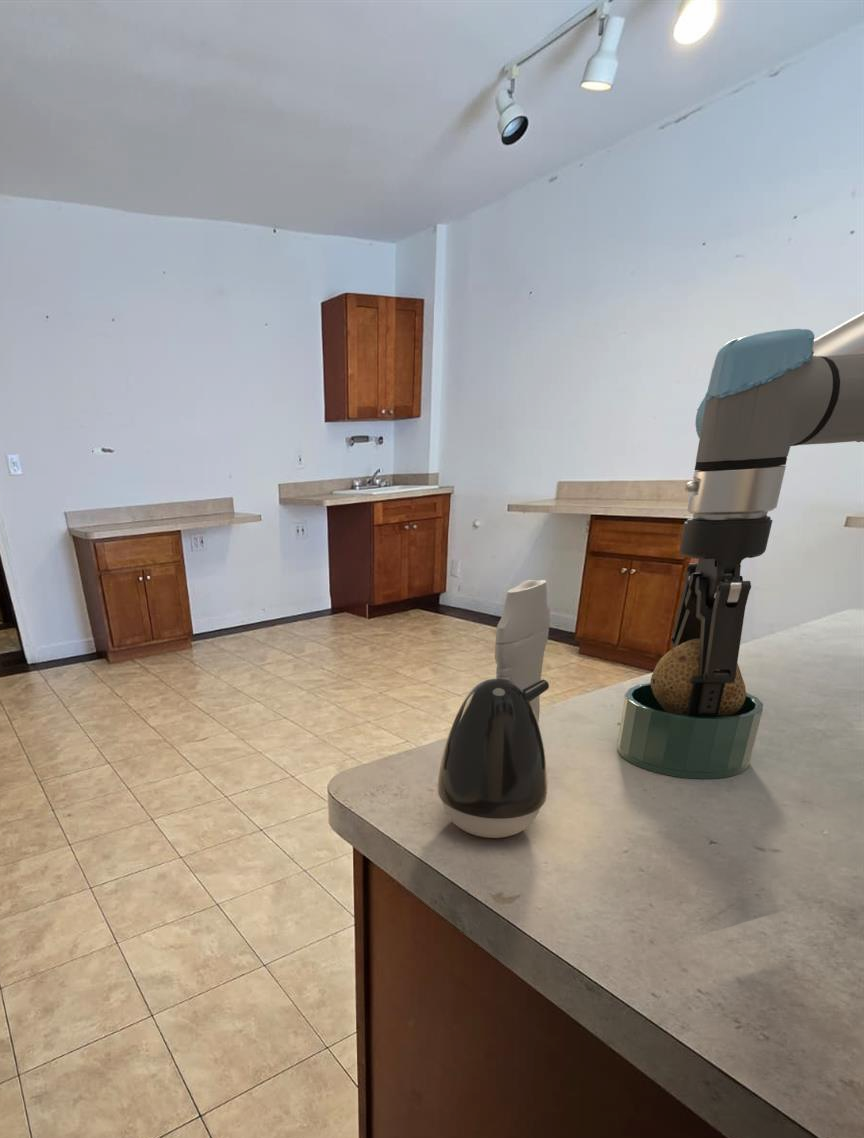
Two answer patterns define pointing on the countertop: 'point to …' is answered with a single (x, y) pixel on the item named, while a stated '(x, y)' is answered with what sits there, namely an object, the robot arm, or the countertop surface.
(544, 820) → the countertop surface
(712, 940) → the countertop surface
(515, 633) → the plastic bottle
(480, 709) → the pump dispenser
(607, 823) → the countertop surface
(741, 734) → the crock
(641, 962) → the countertop surface
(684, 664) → the natural sponge
